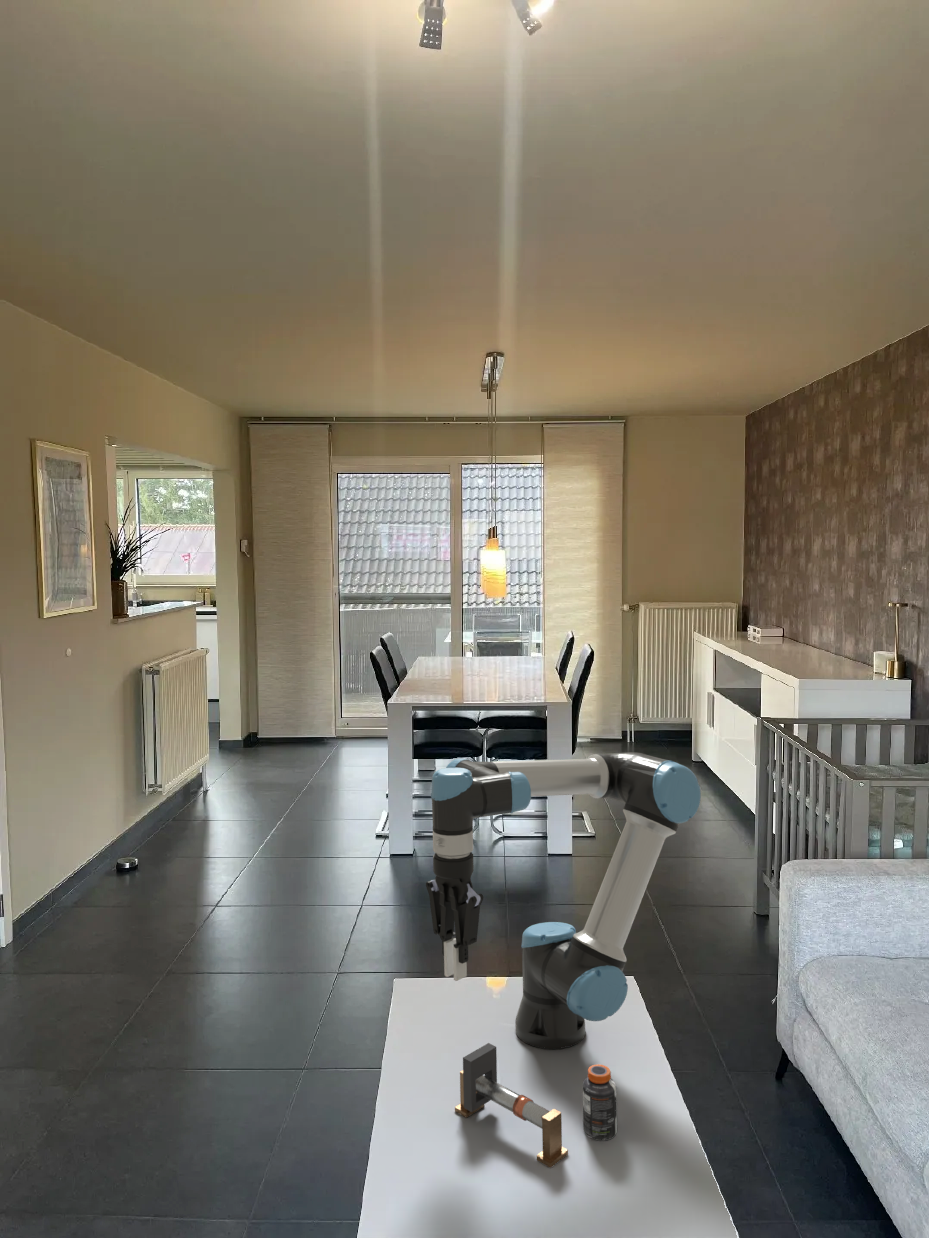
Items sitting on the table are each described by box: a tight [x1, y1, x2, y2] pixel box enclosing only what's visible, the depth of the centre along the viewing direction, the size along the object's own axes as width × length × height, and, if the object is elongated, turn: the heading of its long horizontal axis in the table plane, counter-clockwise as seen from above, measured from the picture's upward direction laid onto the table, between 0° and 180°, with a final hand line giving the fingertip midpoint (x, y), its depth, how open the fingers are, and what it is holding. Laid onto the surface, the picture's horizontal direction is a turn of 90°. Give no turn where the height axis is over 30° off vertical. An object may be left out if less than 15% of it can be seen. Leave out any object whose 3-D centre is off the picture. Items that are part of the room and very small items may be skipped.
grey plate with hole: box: [462, 1042, 498, 1112], centre depth 162 cm, size 2×7×9 cm, turn 135°
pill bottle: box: [582, 1063, 618, 1141], centre depth 157 cm, size 6×6×11 cm
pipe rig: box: [454, 1069, 569, 1169], centre depth 157 cm, size 23×5×8 cm, turn 45°
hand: (455, 975), depth 165 cm, fingers open, 2 cm apart
